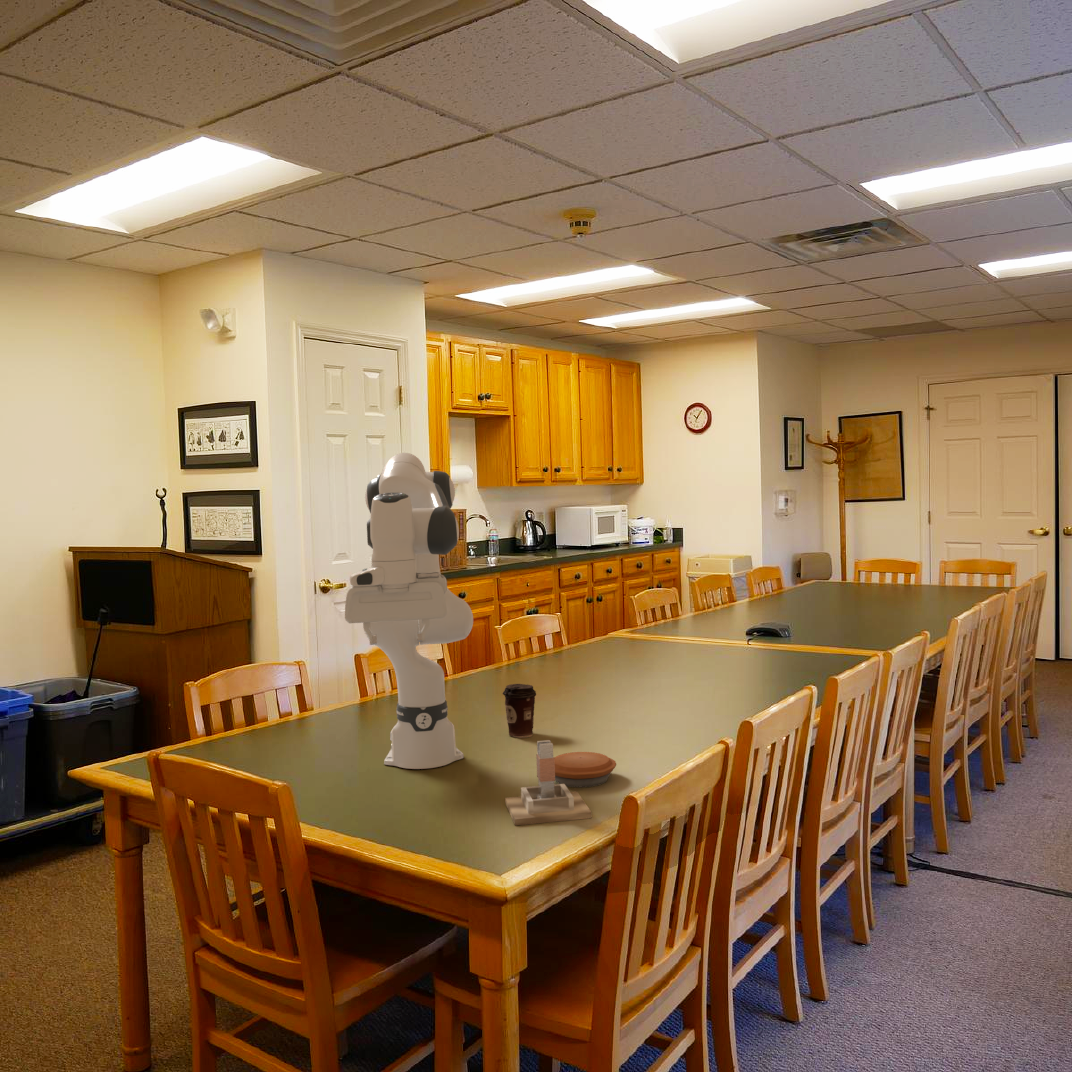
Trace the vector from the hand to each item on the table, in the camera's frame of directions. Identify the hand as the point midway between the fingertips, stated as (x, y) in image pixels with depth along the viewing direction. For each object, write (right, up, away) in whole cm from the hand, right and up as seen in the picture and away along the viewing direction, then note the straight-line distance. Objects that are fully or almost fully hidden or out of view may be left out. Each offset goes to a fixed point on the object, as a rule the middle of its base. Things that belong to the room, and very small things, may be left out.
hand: (397, 642), depth 191 cm
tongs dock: (+30, -33, -1) cm, 45 cm away
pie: (+38, -32, +18) cm, 53 cm away
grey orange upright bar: (+30, -32, -1) cm, 44 cm away
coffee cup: (+24, -31, +57) cm, 69 cm away
